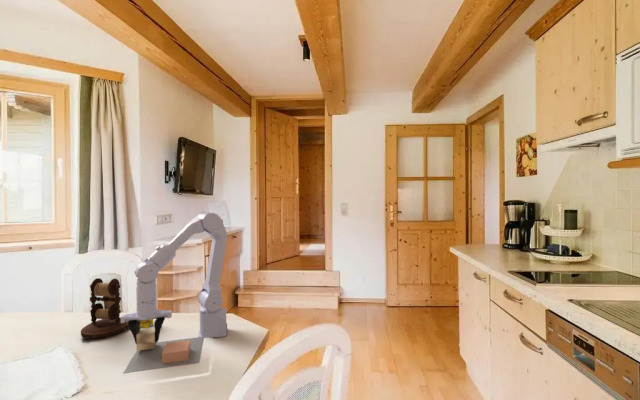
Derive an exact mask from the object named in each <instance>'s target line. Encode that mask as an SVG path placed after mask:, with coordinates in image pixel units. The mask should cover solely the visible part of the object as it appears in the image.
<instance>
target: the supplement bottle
mask: <svg viewBox="0 0 640 400" xmlns="http://www.w3.org/2000/svg"><path fill="white" fill-rule="evenodd" d="M150 327H154V319H149V320H140V329H141V328H150Z"/></svg>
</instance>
